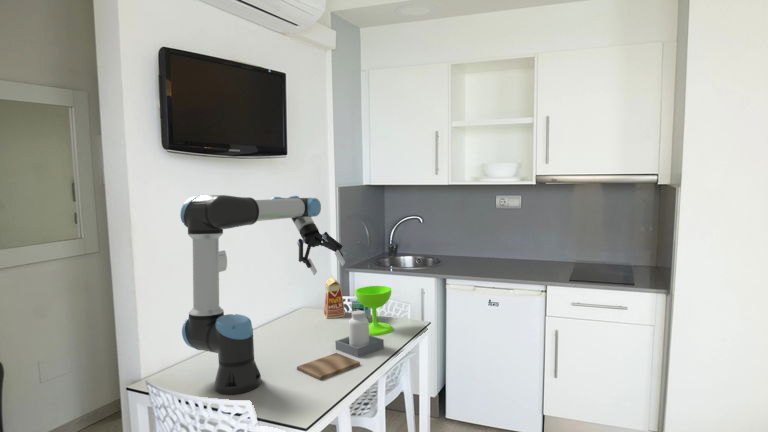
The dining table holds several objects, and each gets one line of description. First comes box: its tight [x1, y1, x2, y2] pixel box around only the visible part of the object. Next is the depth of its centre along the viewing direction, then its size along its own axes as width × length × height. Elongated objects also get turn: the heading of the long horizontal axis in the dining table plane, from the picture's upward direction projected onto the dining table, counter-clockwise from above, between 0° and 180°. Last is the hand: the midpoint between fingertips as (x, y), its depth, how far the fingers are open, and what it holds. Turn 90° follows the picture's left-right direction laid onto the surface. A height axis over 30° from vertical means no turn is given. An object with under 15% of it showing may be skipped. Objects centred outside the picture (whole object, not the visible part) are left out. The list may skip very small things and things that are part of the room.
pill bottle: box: [348, 310, 370, 348], centre depth 205 cm, size 8×8×15 cm
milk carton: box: [323, 274, 346, 319], centre depth 253 cm, size 9×9×20 cm
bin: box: [335, 335, 385, 359], centre depth 206 cm, size 14×14×4 cm
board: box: [296, 352, 361, 381], centre depth 188 cm, size 18×14×1 cm
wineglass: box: [354, 285, 394, 337], centre depth 228 cm, size 16×16×18 cm
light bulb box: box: [351, 296, 372, 321], centre depth 244 cm, size 11×7×11 cm, turn 168°
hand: (329, 268), depth 210 cm, fingers open, 13 cm apart
